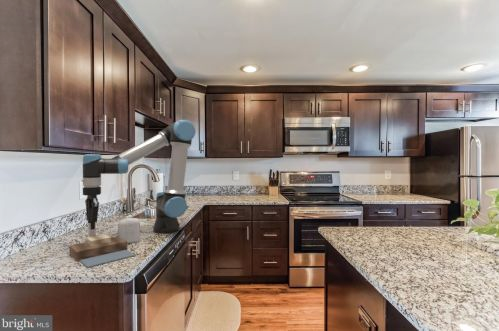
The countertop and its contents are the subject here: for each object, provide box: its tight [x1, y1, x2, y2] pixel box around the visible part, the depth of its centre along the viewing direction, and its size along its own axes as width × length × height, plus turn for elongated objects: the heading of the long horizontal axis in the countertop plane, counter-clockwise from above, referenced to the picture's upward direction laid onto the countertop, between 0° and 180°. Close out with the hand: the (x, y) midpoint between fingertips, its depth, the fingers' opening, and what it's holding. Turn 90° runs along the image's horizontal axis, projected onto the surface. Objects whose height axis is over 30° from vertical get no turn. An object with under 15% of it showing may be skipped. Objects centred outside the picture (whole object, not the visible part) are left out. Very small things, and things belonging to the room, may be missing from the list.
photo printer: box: [117, 217, 141, 244], centre depth 133 cm, size 10×4×12 cm, turn 123°
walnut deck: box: [68, 235, 128, 262], centre depth 118 cm, size 20×12×4 cm, turn 137°
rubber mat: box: [79, 249, 136, 269], centre depth 111 cm, size 18×10×1 cm, turn 137°
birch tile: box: [85, 233, 112, 247], centre depth 119 cm, size 8×8×2 cm
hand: (91, 235), depth 125 cm, fingers closed
